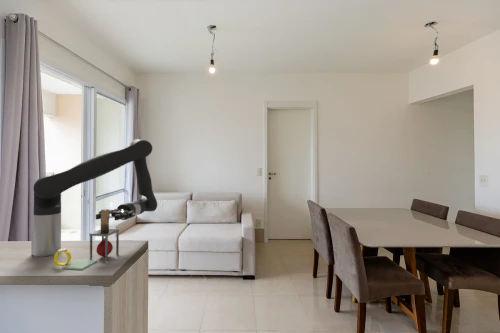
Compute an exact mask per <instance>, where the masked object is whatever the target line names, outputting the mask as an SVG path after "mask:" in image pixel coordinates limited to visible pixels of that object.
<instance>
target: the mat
mask: <svg viewBox="0 0 500 333" xmlns="http://www.w3.org/2000/svg"><path fill="white" fill-rule="evenodd" d="M98 262H99V260H98V259H92V260H90V258H89V259H88V258H78V259H76V260H74V261H73V262H69V263H68V264H66V265H62V268H61V269H62V270H75V271H76V270H77V271H83V270H85V269H86V268H89V267H90V266H92V265H94V264H96V263H98Z"/></svg>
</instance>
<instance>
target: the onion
mask: <svg viewBox="0 0 500 333" xmlns="http://www.w3.org/2000/svg"><path fill="white" fill-rule="evenodd" d="M113 248H114V247H113V244H112V242H111V241H109V240H108V256H109V255H110V254H111V253H112V251H113V250H114V249H113ZM96 253H97V255H98V256H100V257H103V258H105V237H104V239H103V241H102V240H101V241H99V243H98V245H97V246H96Z"/></svg>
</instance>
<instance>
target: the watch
mask: <svg viewBox="0 0 500 333" xmlns="http://www.w3.org/2000/svg"><path fill="white" fill-rule="evenodd" d="M59 253H64V254H65V255H66V256H67V260H66V262H61V261H60V260H59V258H58V256H59ZM53 256H54V257H53V260H54V263H55V264H56V265H57V266H66V265H68V264H70V263H71V261H72V254H71V253H70V251H69V250H68V249H67V248H65V247H64V248H61V249H59V250H58V252H56V253H55V254H54V255H53Z"/></svg>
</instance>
